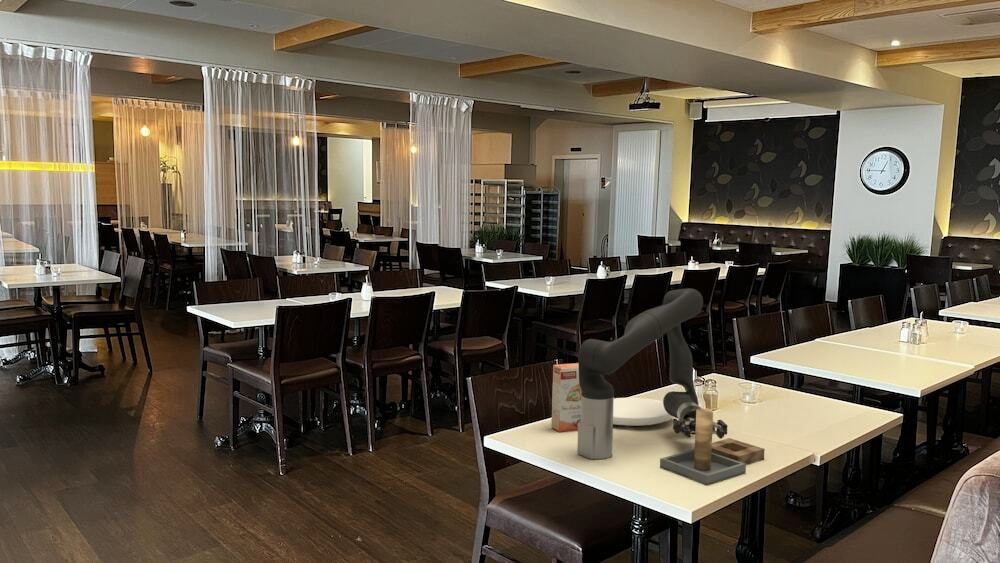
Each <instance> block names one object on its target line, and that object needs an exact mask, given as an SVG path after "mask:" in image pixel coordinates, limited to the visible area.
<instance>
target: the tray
mask: <svg viewBox="0 0 1000 563" xmlns="http://www.w3.org/2000/svg"><path fill="white" fill-rule="evenodd" d="M694 454H695V448H694V449H690V450H686V451H682V452H680V453H676V454H672V455H668V456H665V457H662V458H659V468H660V469H663V470H666V471H668V472H671V473H674V474H676V475H678V476H682V477H684V478H687V479H689V480H692V481H695V482H698V483H701V484H703V485H705V486H709V485H712V484H715V483H719V482H722V481H725V480H728V479H730V478H731V479H732V478H733V477H737V476H740V475H743V474H746V472H747V471H746V470H747V465H746V464H745V463H742V462H739V461H736V460H733V459H730V458H727V457H724V456H721V455H718V454H715V453H712V452H711V470H709V471H699V470H696V469H695V468H694Z"/></svg>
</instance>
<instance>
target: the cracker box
mask: <svg viewBox="0 0 1000 563" xmlns="http://www.w3.org/2000/svg"><path fill="white" fill-rule="evenodd" d="M551 391H552V396H551V397H552V398H551V428H552V429H554V430H555V431H557V432H559V433H560V432H561V433H562V432H570V431H578V422H580V421H581V388H580V385H579V365H578V362H576V363H562V364H561V363H560V364H553V366H552V390H551Z"/></svg>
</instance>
